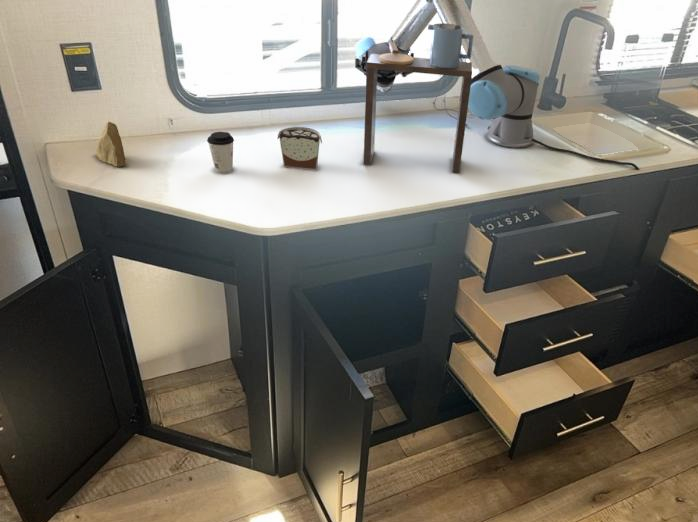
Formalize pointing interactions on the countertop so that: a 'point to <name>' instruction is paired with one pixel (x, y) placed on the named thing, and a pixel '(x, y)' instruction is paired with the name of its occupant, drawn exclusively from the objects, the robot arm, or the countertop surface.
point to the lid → (396, 56)
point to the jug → (448, 45)
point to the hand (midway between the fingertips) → (389, 56)
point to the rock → (111, 146)
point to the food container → (300, 147)
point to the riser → (418, 67)
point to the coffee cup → (221, 151)
